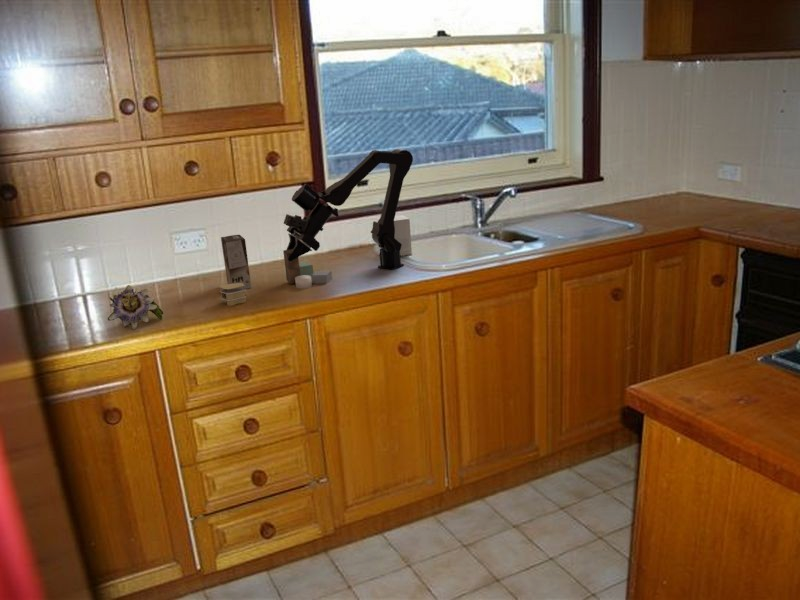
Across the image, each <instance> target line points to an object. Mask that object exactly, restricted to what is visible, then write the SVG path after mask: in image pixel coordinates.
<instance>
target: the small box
mask: <svg viewBox="0 0 800 600" xmlns="http://www.w3.org/2000/svg"><path fill="white" fill-rule="evenodd" d="M394 226H395V239H396V240H397V241H398V242H400V243H401V244H402V246H401V250H400V255H401V256H402V257H403V256H411V255H412V254H413V251H412V236H411V235H412V234H411V221H410V218H409V217H407V216H405V215H402V214H401V215H395V218H394ZM401 256H400V257H401Z"/></svg>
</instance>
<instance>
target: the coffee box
mask: <svg viewBox="0 0 800 600" xmlns="http://www.w3.org/2000/svg"><path fill="white" fill-rule="evenodd" d="M220 241H221V247H222V254H223V260H224V262H223V263H224V269H225V276H226V281H227V283H226V284H234V283H243V284H244V285H245V286H241V287H243V288H245V289H246V290H247V289H251V288H252V283H251V275H250V268H249V267H250V266H249V257H248V251H247V245H246V244H247V243H246V239H245V237H243V236H242V235H241V234H231V235H227V236H221V237H220Z"/></svg>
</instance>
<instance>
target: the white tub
mask: <svg viewBox="0 0 800 600" xmlns="http://www.w3.org/2000/svg"><path fill="white" fill-rule="evenodd" d="M295 282H296V283H295V288H296V289H303V290H304V289H309V288H312V287H313V283H312V276H309V275H301V276H297V277H295Z"/></svg>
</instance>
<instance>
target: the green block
mask: <svg viewBox="0 0 800 600" xmlns="http://www.w3.org/2000/svg"><path fill="white" fill-rule="evenodd" d="M299 268H300V276H301V275H309V276H311V277H312V274H314V267H313V264H312V263H310V262H308V261H299Z"/></svg>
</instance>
